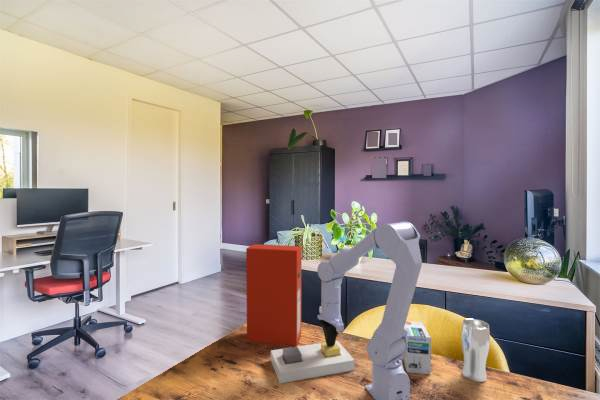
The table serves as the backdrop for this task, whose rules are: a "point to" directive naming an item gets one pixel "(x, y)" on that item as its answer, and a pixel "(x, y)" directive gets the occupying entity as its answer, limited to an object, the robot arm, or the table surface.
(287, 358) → the graphite key
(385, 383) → the robot arm
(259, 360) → the table surface
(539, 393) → the table surface
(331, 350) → the mustard key
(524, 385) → the table surface
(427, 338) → the light bulb box
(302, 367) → the board
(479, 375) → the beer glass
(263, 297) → the file binder
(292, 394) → the table surface
